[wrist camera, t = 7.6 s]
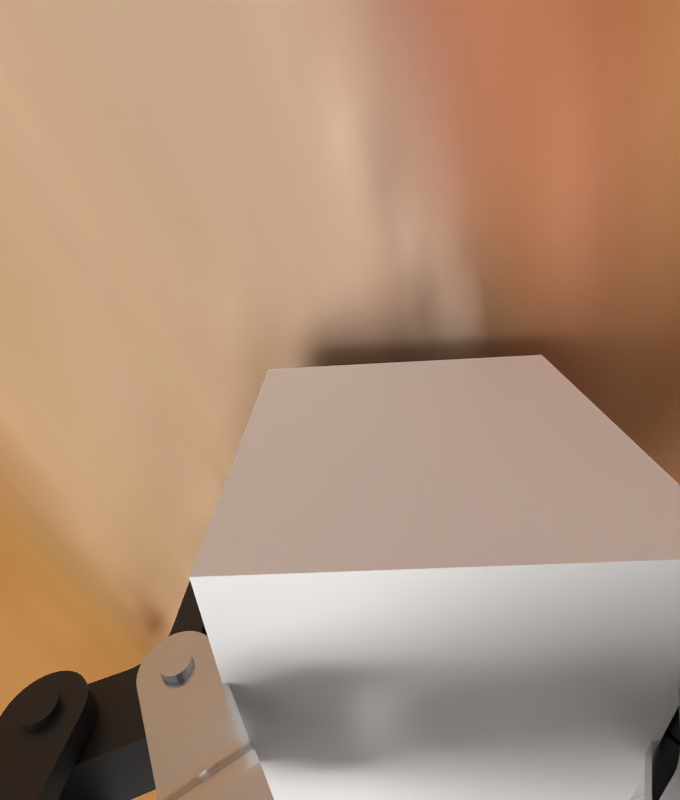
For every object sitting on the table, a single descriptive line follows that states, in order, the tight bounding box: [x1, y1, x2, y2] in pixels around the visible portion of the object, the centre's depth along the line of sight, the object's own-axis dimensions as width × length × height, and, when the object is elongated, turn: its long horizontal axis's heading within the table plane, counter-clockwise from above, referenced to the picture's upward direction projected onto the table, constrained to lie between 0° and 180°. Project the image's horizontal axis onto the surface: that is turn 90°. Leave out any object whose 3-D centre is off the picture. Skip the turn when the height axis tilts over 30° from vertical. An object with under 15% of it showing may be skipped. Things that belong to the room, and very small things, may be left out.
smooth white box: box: [189, 355, 680, 800], centre depth 10 cm, size 7×7×7 cm
